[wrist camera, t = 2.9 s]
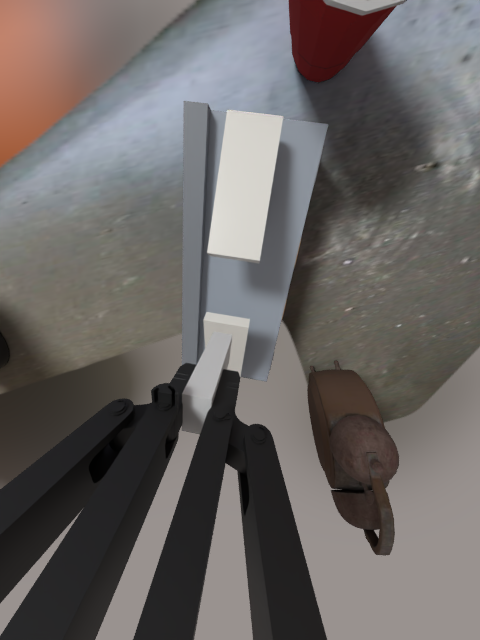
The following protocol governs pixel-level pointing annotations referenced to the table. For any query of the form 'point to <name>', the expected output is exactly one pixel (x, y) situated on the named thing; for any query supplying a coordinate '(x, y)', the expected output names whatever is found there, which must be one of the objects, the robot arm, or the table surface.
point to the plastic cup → (332, 32)
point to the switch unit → (278, 243)
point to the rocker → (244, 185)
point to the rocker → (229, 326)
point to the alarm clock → (354, 452)
